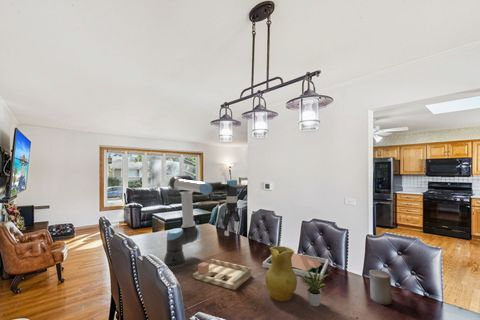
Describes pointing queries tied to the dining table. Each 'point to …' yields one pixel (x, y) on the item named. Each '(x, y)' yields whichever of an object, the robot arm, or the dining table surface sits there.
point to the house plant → (314, 288)
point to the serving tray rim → (299, 272)
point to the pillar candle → (380, 286)
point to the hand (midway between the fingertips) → (231, 233)
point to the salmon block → (203, 268)
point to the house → (304, 262)
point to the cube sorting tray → (225, 274)
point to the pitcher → (281, 274)
